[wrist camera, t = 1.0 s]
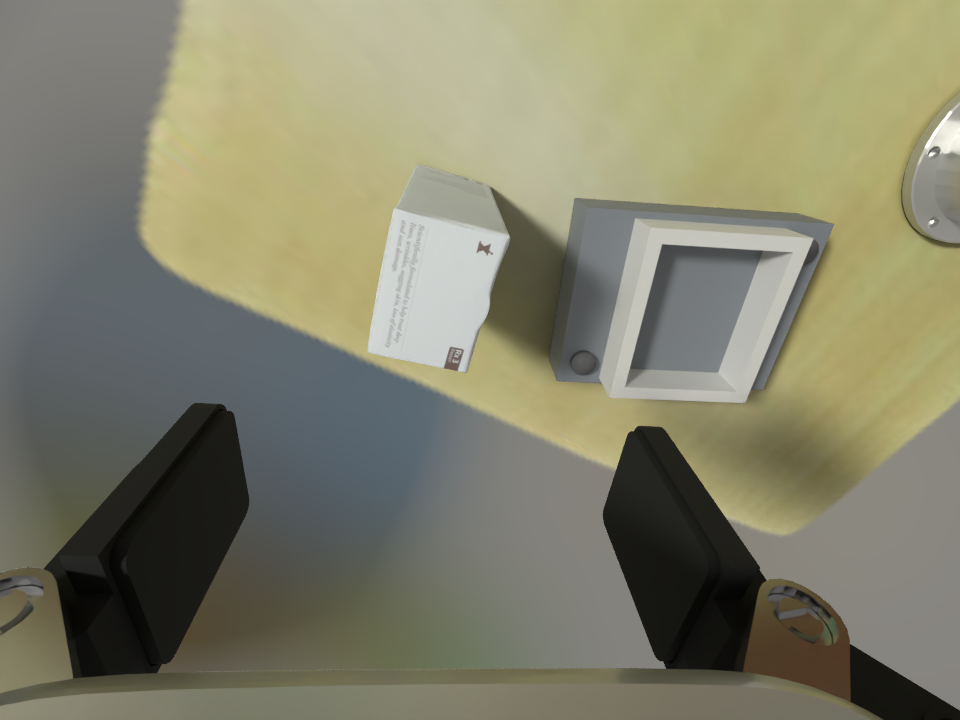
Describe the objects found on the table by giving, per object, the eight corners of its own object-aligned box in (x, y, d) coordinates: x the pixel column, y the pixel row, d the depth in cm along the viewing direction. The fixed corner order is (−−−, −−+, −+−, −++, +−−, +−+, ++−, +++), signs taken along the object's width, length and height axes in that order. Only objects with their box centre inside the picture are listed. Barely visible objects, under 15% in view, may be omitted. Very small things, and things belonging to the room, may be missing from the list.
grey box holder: (797, 213, 36) (867, 233, 30) (737, 367, 43) (784, 409, 36) (574, 198, 35) (599, 215, 29) (548, 358, 41) (563, 401, 35)
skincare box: (416, 162, 33) (387, 192, 20) (495, 185, 34) (516, 229, 21) (394, 269, 37) (358, 354, 24) (466, 288, 38) (468, 379, 25)
